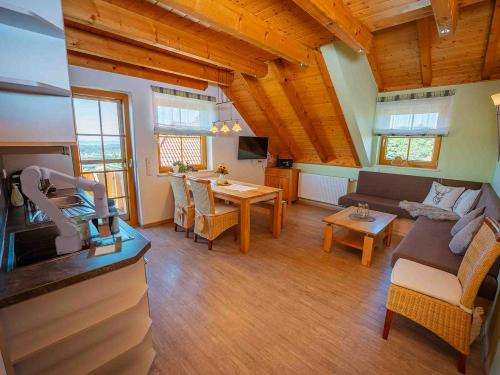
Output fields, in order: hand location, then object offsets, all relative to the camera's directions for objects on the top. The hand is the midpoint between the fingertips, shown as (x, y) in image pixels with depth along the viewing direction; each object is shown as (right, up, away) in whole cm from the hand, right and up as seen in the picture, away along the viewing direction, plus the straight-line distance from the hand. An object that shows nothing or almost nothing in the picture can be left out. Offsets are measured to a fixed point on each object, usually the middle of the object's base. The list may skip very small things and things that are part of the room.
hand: (104, 231), depth 124 cm
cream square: (+5, -7, -8) cm, 12 cm away
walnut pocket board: (+3, -8, -4) cm, 9 cm away
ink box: (-16, -6, +6) cm, 18 cm away
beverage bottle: (-5, -4, +15) cm, 17 cm away
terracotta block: (0, -2, 0) cm, 2 cm away
